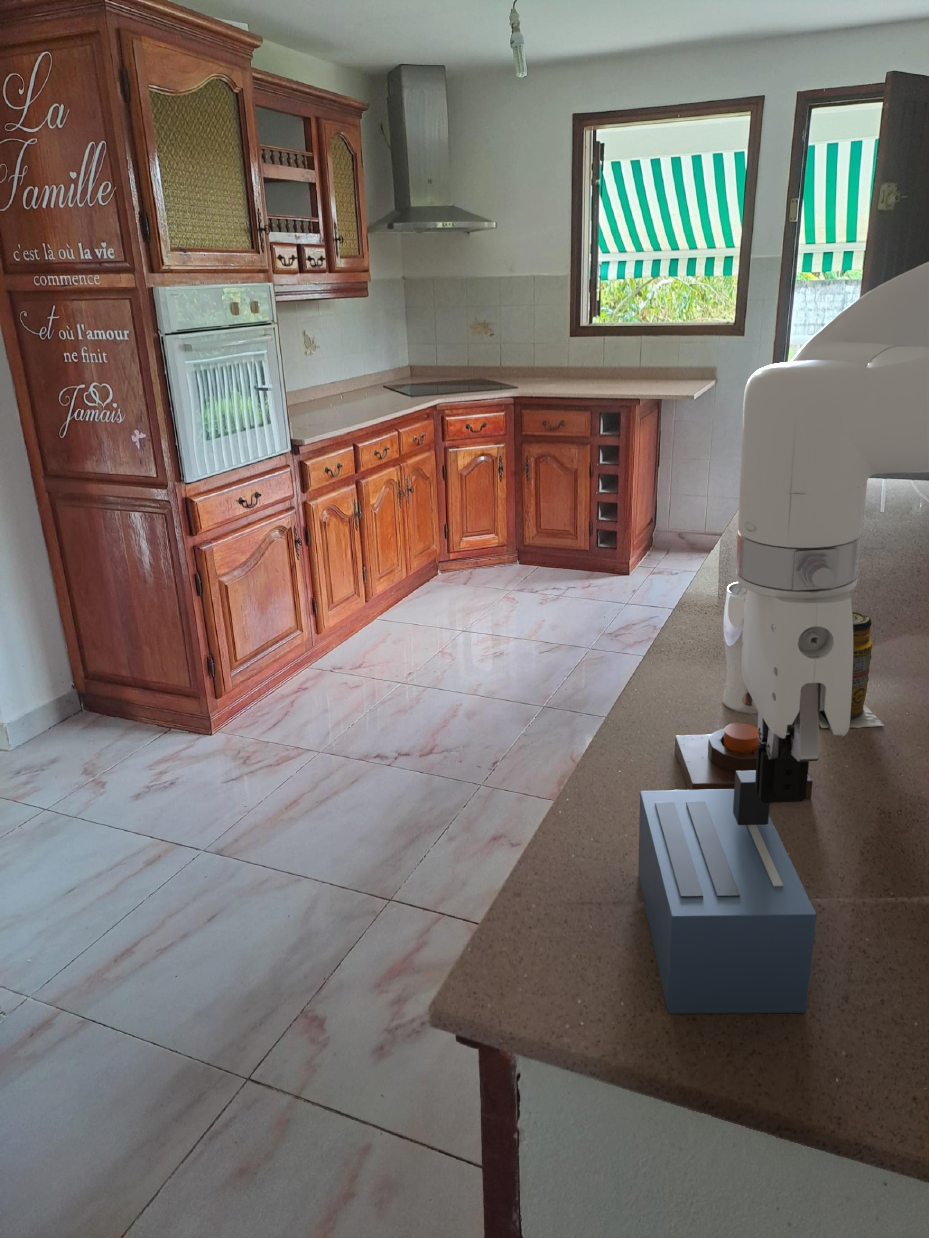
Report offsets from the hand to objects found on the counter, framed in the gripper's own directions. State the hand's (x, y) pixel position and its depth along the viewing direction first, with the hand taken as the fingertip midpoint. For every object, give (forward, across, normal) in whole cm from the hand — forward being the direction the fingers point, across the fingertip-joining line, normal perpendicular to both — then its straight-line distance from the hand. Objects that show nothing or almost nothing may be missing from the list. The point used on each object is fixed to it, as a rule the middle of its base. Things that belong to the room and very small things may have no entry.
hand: (779, 795), depth 64 cm
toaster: (+15, +2, +4) cm, 16 cm away
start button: (+12, +27, -4) cm, 29 cm away
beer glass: (+16, +43, -9) cm, 47 cm away
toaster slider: (+6, +5, +1) cm, 8 cm away
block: (+15, +27, -4) cm, 31 cm away
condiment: (+16, +40, -19) cm, 47 cm away
